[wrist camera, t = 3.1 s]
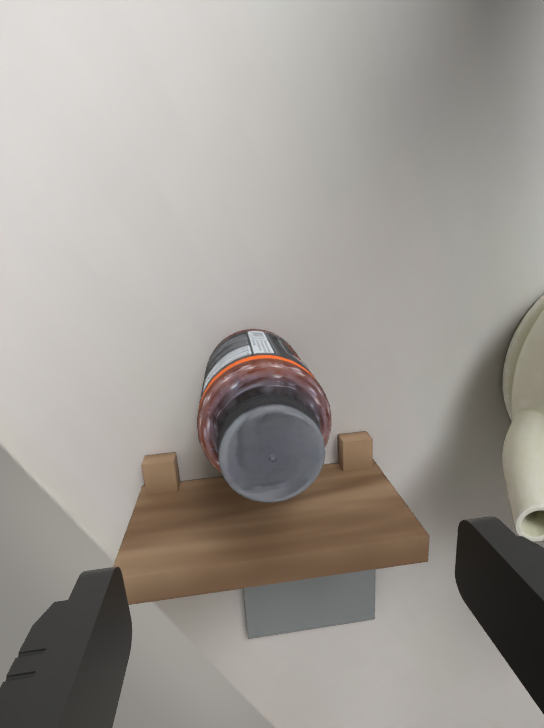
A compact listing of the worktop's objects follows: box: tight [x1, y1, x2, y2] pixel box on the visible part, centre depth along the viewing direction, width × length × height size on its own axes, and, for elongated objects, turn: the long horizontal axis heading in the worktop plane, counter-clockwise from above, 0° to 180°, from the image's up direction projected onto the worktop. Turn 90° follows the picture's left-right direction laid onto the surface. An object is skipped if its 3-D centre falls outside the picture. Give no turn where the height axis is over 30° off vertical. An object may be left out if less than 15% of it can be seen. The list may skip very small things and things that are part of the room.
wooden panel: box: [113, 431, 429, 605], centre depth 23 cm, size 6×16×8 cm, turn 94°
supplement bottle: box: [197, 329, 331, 503], centre depth 20 cm, size 6×6×11 cm
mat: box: [243, 569, 375, 639], centre depth 29 cm, size 10×10×1 cm
